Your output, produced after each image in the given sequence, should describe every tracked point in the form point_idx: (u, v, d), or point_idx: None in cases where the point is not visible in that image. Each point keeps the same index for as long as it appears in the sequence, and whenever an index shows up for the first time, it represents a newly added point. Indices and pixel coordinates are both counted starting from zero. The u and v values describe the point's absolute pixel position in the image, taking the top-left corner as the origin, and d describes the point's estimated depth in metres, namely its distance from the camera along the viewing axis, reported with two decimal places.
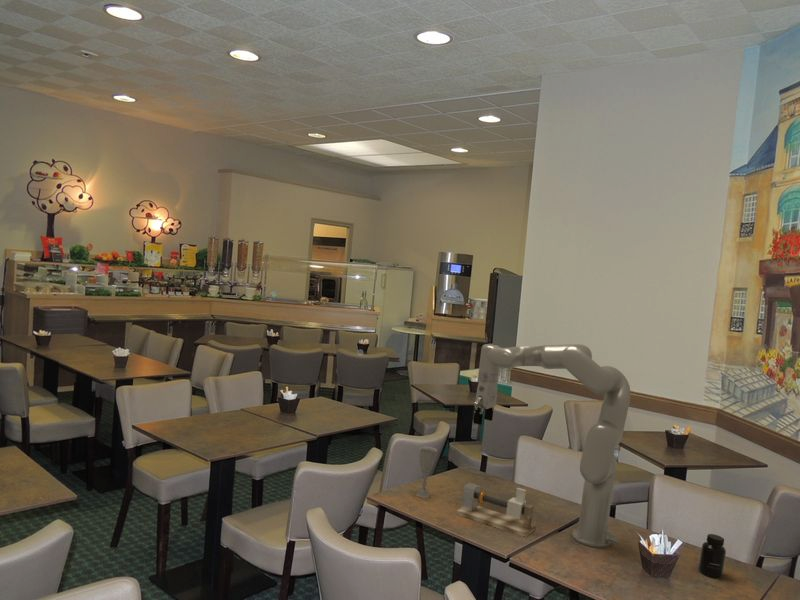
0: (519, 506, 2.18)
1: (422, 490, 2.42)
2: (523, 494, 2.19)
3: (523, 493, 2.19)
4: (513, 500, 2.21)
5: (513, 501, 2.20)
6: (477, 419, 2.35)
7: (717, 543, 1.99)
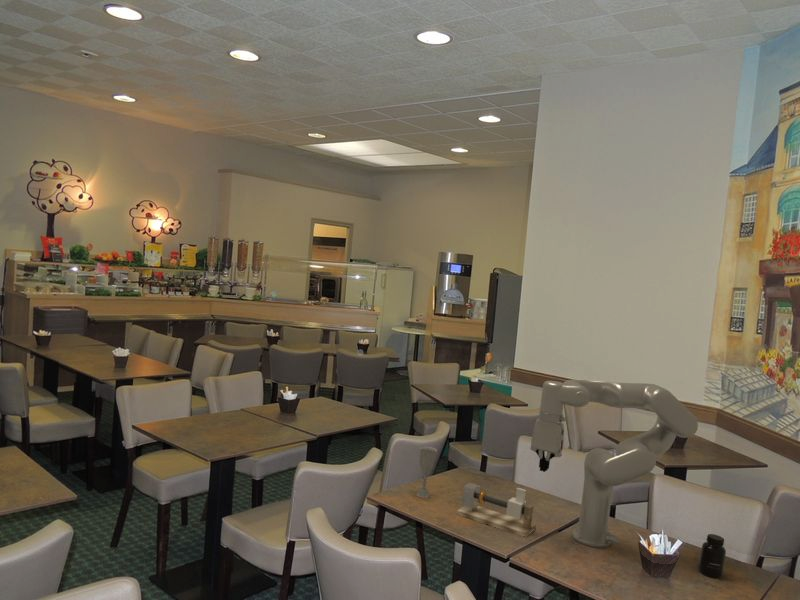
0: (519, 506, 2.18)
1: (422, 490, 2.42)
2: (523, 494, 2.19)
3: (523, 493, 2.19)
4: (513, 500, 2.21)
5: (513, 501, 2.20)
6: (548, 466, 2.15)
7: (717, 543, 1.99)
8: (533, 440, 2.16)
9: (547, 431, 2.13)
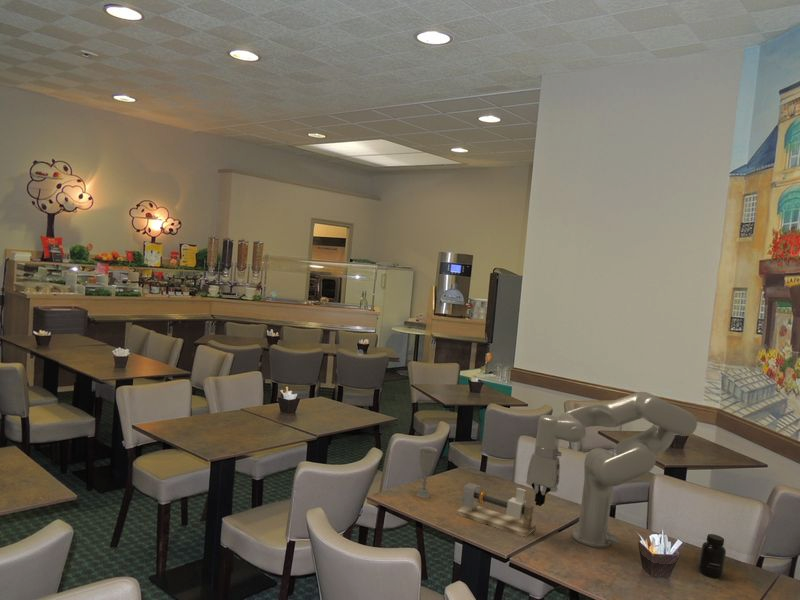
0: (519, 506, 2.18)
1: (422, 490, 2.42)
2: (523, 494, 2.19)
3: (523, 493, 2.19)
4: (513, 500, 2.21)
5: (513, 501, 2.20)
6: (544, 500, 2.16)
7: (717, 543, 1.99)
8: (529, 474, 2.16)
9: (543, 466, 2.13)
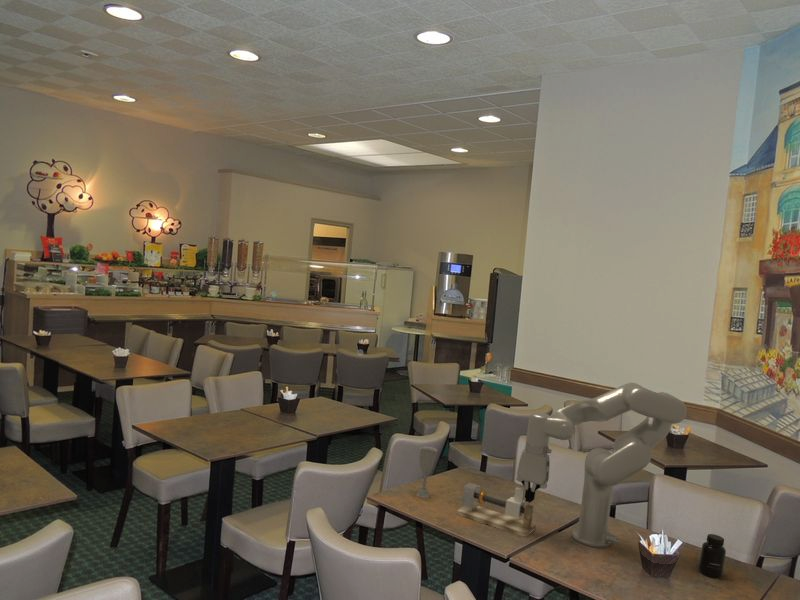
0: (518, 506, 2.18)
1: (422, 490, 2.42)
2: (522, 494, 2.19)
3: (521, 493, 2.19)
4: (512, 500, 2.21)
5: (512, 501, 2.20)
6: (533, 497, 2.18)
7: (717, 543, 1.99)
8: (519, 471, 2.18)
9: (533, 463, 2.15)
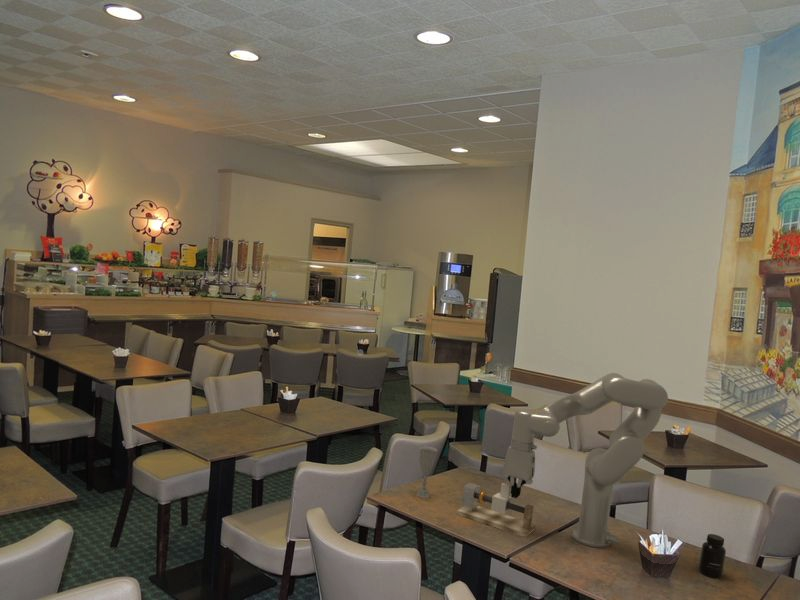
0: (504, 501, 2.21)
1: (422, 490, 2.42)
2: (508, 489, 2.22)
3: (507, 489, 2.22)
4: (498, 495, 2.24)
5: (498, 496, 2.23)
6: (519, 492, 2.20)
7: (717, 543, 1.99)
8: (505, 467, 2.21)
9: (518, 459, 2.18)
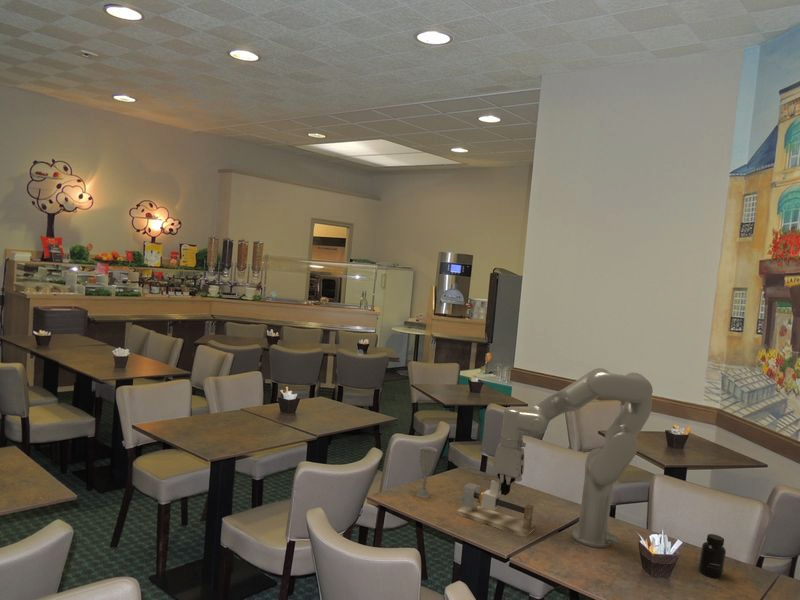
0: (493, 498, 2.23)
1: (422, 490, 2.42)
2: (497, 486, 2.24)
3: (497, 486, 2.24)
4: (488, 492, 2.26)
5: (488, 493, 2.25)
6: (509, 489, 2.22)
7: (717, 543, 1.99)
8: (494, 464, 2.23)
9: (508, 456, 2.20)
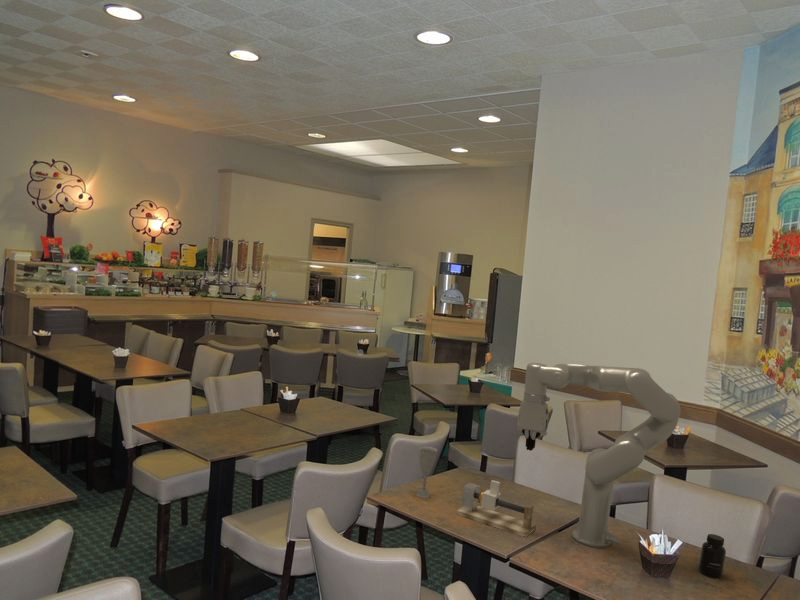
0: (493, 498, 2.23)
1: (422, 490, 2.42)
2: (497, 486, 2.24)
3: (497, 486, 2.24)
4: (488, 492, 2.26)
5: (487, 493, 2.25)
6: (534, 445, 2.24)
7: (717, 543, 1.99)
8: (519, 421, 2.24)
9: (532, 411, 2.21)
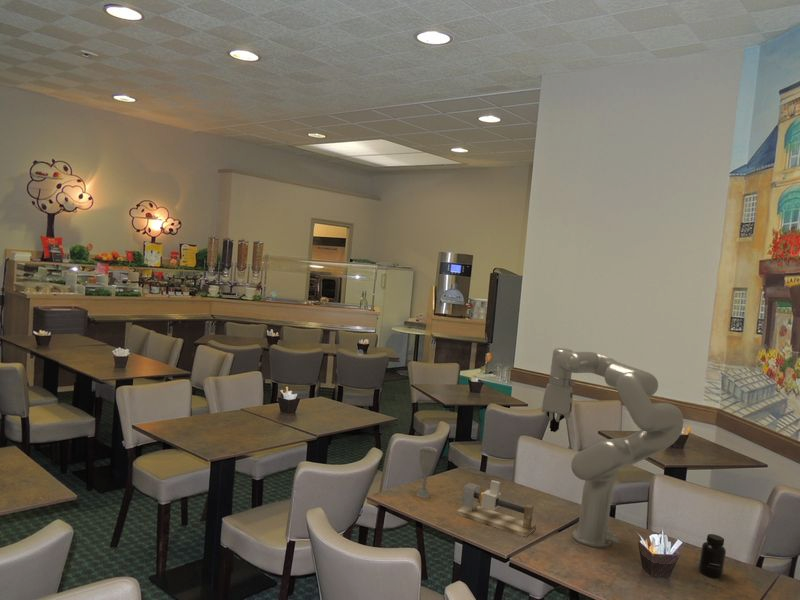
0: (493, 498, 2.23)
1: (422, 490, 2.42)
2: (497, 486, 2.24)
3: (497, 486, 2.24)
4: (488, 492, 2.26)
5: (487, 493, 2.25)
6: (558, 427, 2.33)
7: (717, 543, 1.99)
8: (544, 403, 2.33)
9: (557, 394, 2.30)
